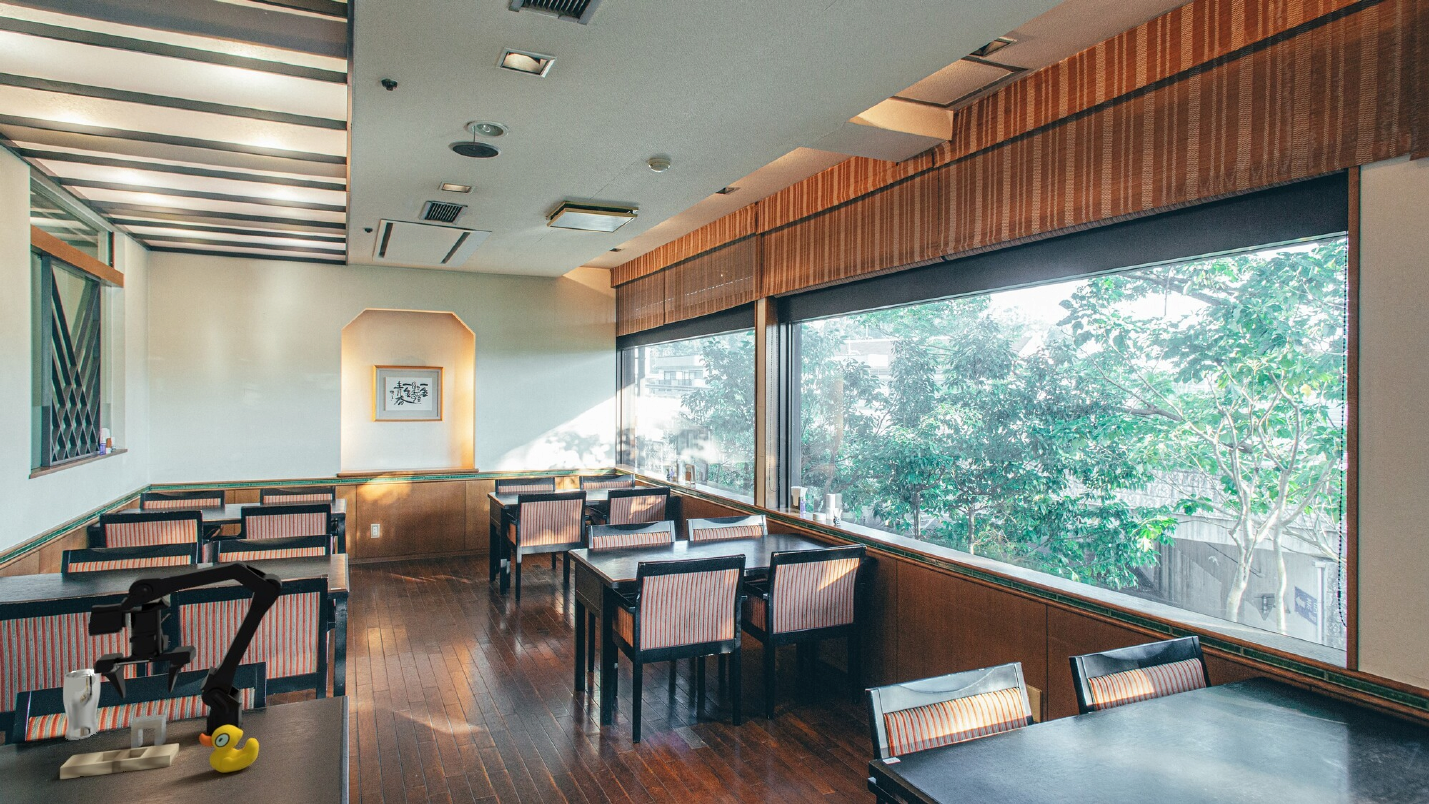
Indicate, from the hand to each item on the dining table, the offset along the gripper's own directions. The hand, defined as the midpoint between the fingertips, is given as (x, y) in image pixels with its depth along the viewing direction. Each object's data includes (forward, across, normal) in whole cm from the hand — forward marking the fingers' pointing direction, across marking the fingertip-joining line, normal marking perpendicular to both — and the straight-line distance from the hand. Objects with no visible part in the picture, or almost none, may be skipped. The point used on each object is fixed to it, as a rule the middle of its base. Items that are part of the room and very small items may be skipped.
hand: (147, 695), depth 182 cm
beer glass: (+12, +17, -11) cm, 23 cm away
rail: (+12, +2, +10) cm, 16 cm away
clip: (+12, 0, 0) cm, 12 cm away
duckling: (+12, -21, +20) cm, 31 cm away
